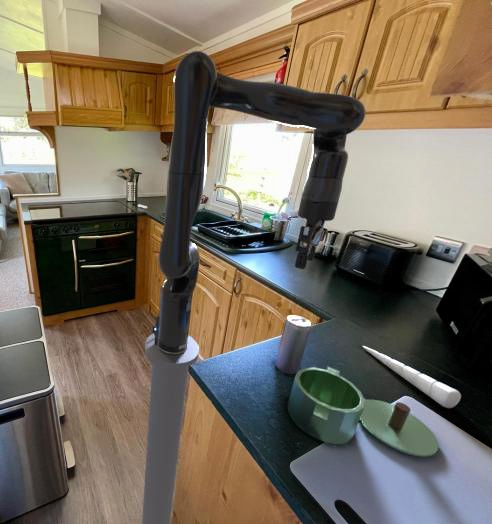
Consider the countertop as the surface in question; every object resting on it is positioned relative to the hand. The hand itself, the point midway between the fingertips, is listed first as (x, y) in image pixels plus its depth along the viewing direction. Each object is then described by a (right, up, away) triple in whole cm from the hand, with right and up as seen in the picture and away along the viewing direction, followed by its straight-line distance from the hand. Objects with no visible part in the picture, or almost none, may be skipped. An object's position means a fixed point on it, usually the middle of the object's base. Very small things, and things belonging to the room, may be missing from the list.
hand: (304, 263), depth 72 cm
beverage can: (0, -29, +8) cm, 30 cm away
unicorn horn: (+30, -31, +6) cm, 44 cm away
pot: (-1, -34, -8) cm, 35 cm away
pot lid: (+14, -35, -10) cm, 39 cm away
